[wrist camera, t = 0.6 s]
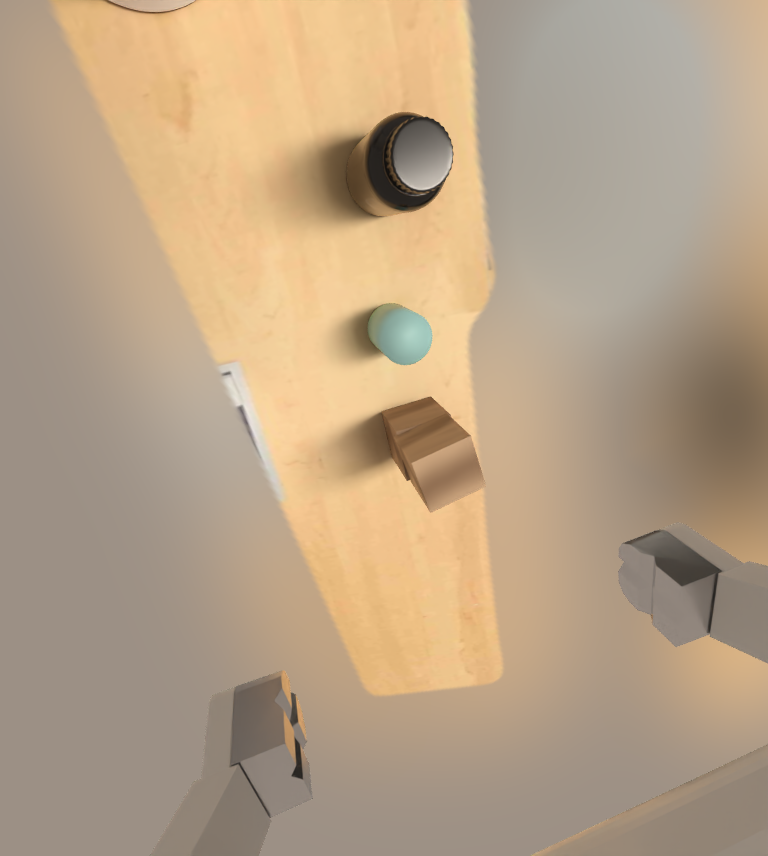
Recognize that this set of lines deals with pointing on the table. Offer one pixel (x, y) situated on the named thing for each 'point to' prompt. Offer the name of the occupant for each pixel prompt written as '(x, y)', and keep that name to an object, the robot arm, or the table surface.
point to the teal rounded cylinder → (399, 333)
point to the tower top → (440, 461)
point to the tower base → (408, 423)
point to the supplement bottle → (399, 165)
